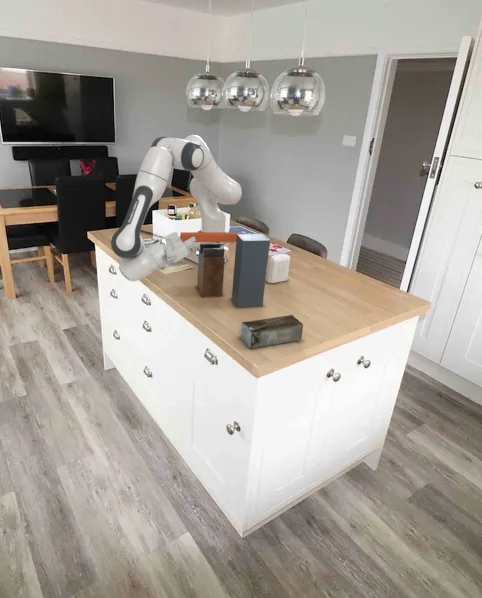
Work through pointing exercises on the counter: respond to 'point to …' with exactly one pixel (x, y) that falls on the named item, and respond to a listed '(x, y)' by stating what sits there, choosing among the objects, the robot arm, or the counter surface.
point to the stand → (250, 270)
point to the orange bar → (210, 236)
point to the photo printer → (278, 268)
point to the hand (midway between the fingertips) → (193, 236)
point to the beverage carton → (271, 331)
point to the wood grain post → (210, 269)
